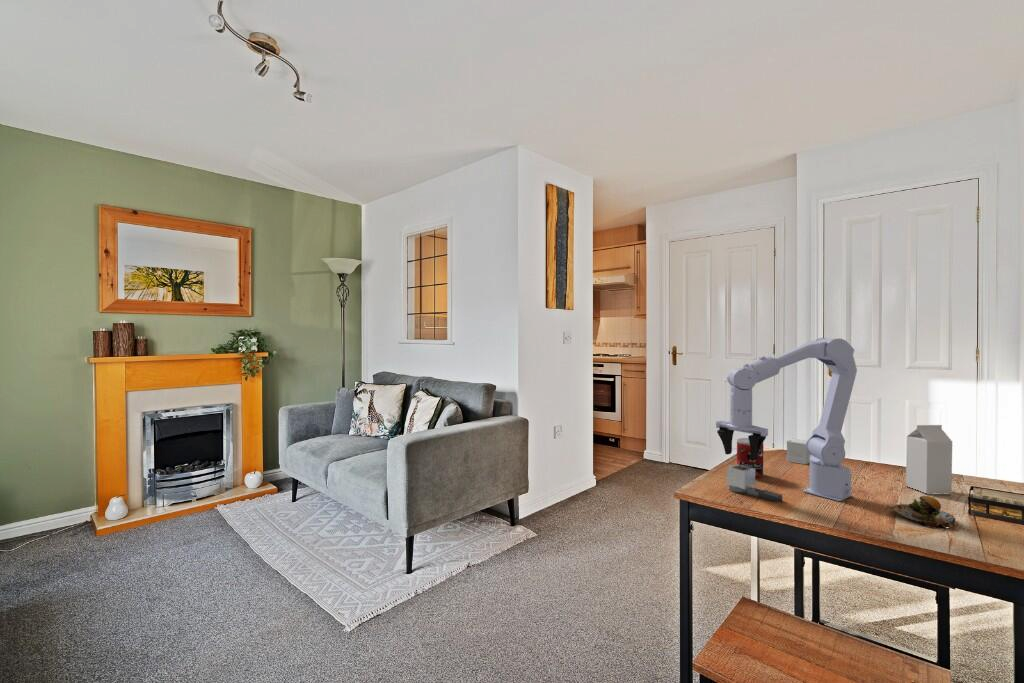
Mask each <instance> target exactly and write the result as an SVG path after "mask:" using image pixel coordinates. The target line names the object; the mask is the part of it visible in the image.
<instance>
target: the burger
mask: <svg viewBox="0 0 1024 683" xmlns="http://www.w3.org/2000/svg"><path fill="white" fill-rule="evenodd" d="M937 492H938V491H937ZM935 497H936V495H934V496H929V495H921V496H919V501H918V500H917V499H914V500H913V502H911V503H909V504H903V503H900V504H895V505H893V506H892V509H893V510H894V511H895V512H896V513H898V515H900V516H902V517H904V518H907V519H909V520H911V521H914V522H917V523H923V524H925V527H927V526H929V527H928V528H930V527H937V528H938V526H939V525H941V526H942V527H943V528H944V529H946V527H952V528H953V527H955V526H954V525H955V524H956V517H954V515H951V514H950V513H949V512H946V511H942V510H941V509H942V506H941V503H940V502H939V500H938V499H936V498H935Z"/></svg>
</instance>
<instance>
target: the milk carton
mask: <svg viewBox="0 0 1024 683" xmlns="http://www.w3.org/2000/svg"><path fill="white" fill-rule="evenodd" d="M942 427H943V425H942V424H917V425H916V428H915V430H913V431H912V432H911V433H909V434H907V435H906V450H905V451H906V456H905V457H906V460H905V462H906V464H905V465H906V466H905V473H906V474H905V487H907V486H908V487H907V488H909V487H910V489H912V488H913V490H915V489H916V490H915V491H917V490H919V491H918V492H920V491H921V492H920V493H922V492H924V493H923V494H925V493H927V494H926V495H934V494H933V493H951V494H952V483H953V482H952V481H953V480H952V478H953V477H952V474H953V440H951V438H950V436H949V435H948V434H947V433H946V432H945V431H944V430H943V428H942ZM937 491H938V492H937Z"/></svg>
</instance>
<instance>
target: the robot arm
mask: <svg viewBox="0 0 1024 683" xmlns="http://www.w3.org/2000/svg"><path fill="white" fill-rule="evenodd" d="M854 352H855V348H854V347H852V345H851V344H850V343H849V342H848V341H847V340H846V339H844V338H826V337H819V338H816V339H814V340H810V341H807V342H805V343H803V344H801V345H799V346H796V347H795V348H793V349H790V350H789V351H786V352H785V353H782V354H780V355H778V356H776V357H772V356H769V355H767V356H764V355H762V356H759V357H758V359H757V360H755V361H752V362H751V363H744V364H742V366H743V367H742V368H741V367H736V368H733V369H731V371H730V372H729V374H728V376H727V377H726V378H727V379H726V380H727V382H728V383H729V385H730V394H729V396H730V399H729V400H730V401H729V405H730V406H729V407H730V411H729V412H730V416H729V421H724V420H723V421H722V420H718V421H715V428H716V429H717V430H716V432H717V434H718V436H719V438H720V441H721V443H722V445H723V450H724V453H725V455H731V454H732V452H733V437H734V433H735V432H741V433H746V434H751V435H747V438H749V442H750V458H751V460H756V459H757V456H758V453H759V450H760V447H761V445H762V443H763V444H764V442H765V440H766V438H767V436H769V428H765V427H761V426H758V425H753V388H754V387H755V385H756V384H759V383H761V382H763V381H765V380H768V379H771V378H772V377H775V376H777V375H779V373H780V371H781V369H783V368H785V367H788V366H790V365H794V364H795V363H799V362H801V361H803V360H807V359H810V358H811V359H816V360H818V361H820V362H821V363H823V364H825V366H826V367H827V368H828V369H829V371H830V372H831V376H830V381H829V385H828V389H827V392H826V397H825V400H824V404H823V409H822V412H821V416H820V419H819V424H818V426H816V428H814V429H813V430H812V432H811V435H810V437H809V438H807V440H806V441H807V442H806V450H807V452H808V453H809V454H810V462H809V483H808V484H809V487H807V488H805V489H802V491H803V493H807V494H811V495H814V496H818V497H822V498H825V499H831V500H832V501H833V500H834V501H837V502H842V501H844V500H846V499H847V498H850V497H852V496H853V494H852V471H851V468H849V466H848V467H847V466H844V465H842V464H841V463H842V462H843V461H844V460H845V458H846V450H845V444H846V440H845V438H844V435H843V433H842V430H843V425H844V422H845V418H846V414H847V410H848V407H849V402H850V399H851V394H852V391H853V387H854V384H855V380H856V376H857V373H858V372H857V371H858V370H857V365H856V360H855V358H854V354H855V353H854Z"/></svg>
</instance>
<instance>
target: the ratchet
mask: <svg viewBox="0 0 1024 683" xmlns="http://www.w3.org/2000/svg"><path fill="white" fill-rule="evenodd" d="M728 486H729V487H728V490H729V491H730V492H732V493H735V494H739V495H749V496H753V497H756V498H759V499H762V500H765V501H769V502H773V503H776V504H777V503H780V502H782V501H783V494H782V493H781V494H780V493H777V492H773V491H770V490H768V489H759V488H757V487H754V486H753V487H750V488H747V489H742V488H738V487H735V486H731V485H728Z"/></svg>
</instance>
